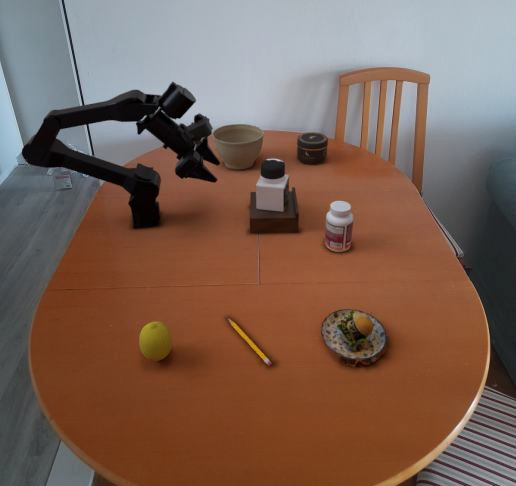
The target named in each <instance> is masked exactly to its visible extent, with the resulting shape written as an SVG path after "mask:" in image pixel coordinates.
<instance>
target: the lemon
mask: <svg viewBox="0 0 516 486" xmlns="http://www.w3.org/2000/svg"><path fill="white" fill-rule="evenodd" d="M138 344H139V349H140V351H141V353H142V355H143V357H145V358H146V359H147V360H150V361H154V362H157V361H161V360H163V359H165V358H166V357H167V356H168V355H169V354H170V352H171V350H172V348H173V336H172V333H171V331H170V329H169V327H168V326H167V325H166V324H165V323H163V322H162V321H151V322H148V323H147V324H146V325H144V326H143V328H142V329H141V331H140V334H139V340H138Z"/></svg>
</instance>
